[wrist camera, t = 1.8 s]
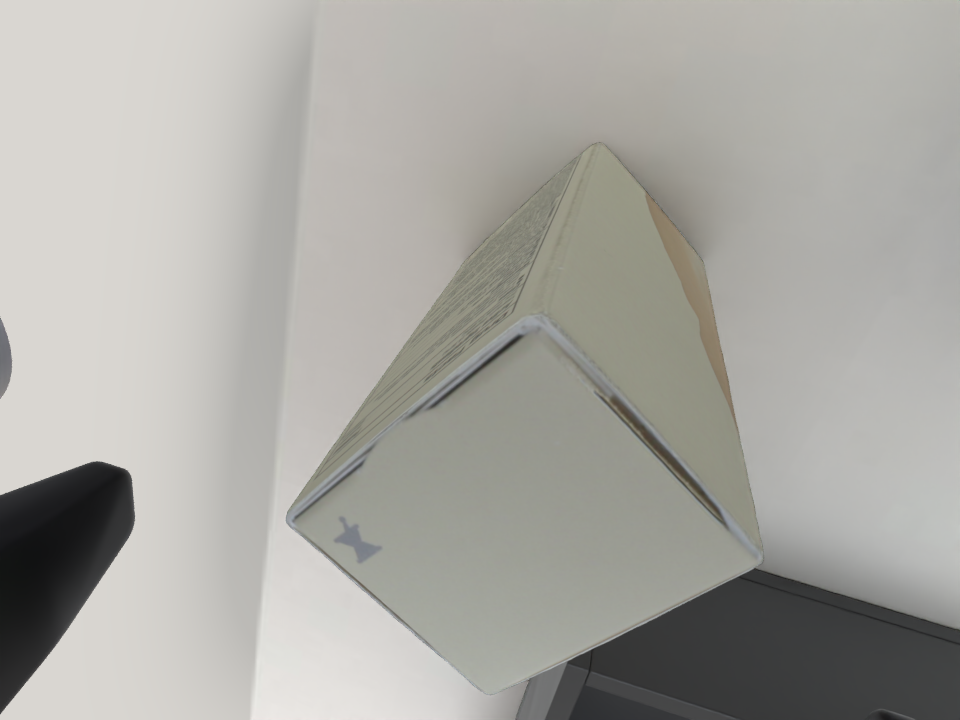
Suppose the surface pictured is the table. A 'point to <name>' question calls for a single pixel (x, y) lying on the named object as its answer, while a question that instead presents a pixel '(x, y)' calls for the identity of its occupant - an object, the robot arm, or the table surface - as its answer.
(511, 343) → the box
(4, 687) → the robot arm
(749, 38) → the table surface
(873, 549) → the table surface
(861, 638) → the dark grey tray
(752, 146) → the table surface
